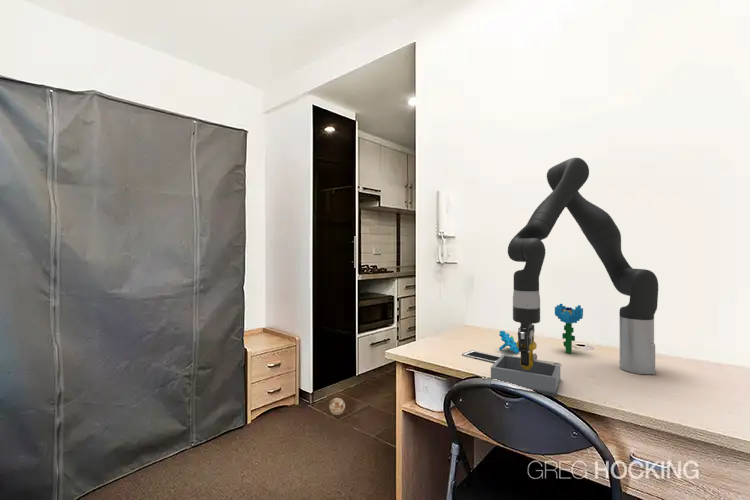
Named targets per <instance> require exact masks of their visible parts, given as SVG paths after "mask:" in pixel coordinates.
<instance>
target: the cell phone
mask: <svg viewBox="0 0 750 500" xmlns="http://www.w3.org/2000/svg"><path fill="white" fill-rule="evenodd" d="M461 355H462V356H463V357H465V358H466V357H467V358H471V359H475V360H479V361H482V362H487V363H491V364H494V363H495V362H496V361H497V360H498V359H499V358H500V356H501V355H500V356H499V355H495V354H491V353H487V352H482V351H477V350H469V351H467V352H463V353H462V354H461Z"/></svg>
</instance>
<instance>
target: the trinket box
mask: <svg viewBox="0 0 750 500" xmlns="http://www.w3.org/2000/svg"><path fill="white" fill-rule="evenodd" d="M328 407H329V410H330V413H331V414H332V415H336V416H337V415H341V414H342V413H344V411H345V409H346V403H345V401H344V400H343V399H342V398H340V397H335V398H333V399H332V400H330V401H329V405H328Z"/></svg>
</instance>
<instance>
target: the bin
mask: <svg viewBox="0 0 750 500" xmlns="http://www.w3.org/2000/svg"><path fill="white" fill-rule="evenodd" d="M520 358H521V356H515V355H508V354H507V355H506V354H501V355H500V358H499V359H498V360H497V361H496V362H495V363H492V364H493V365H492V366H490V380H491V379H497V380H500V381H504V382H509V383H512V384H516V385H518V386H522V387H526V388H530V389H533V390H535V391H537V392H539V393H542V394H541V395H544V396H550V397H555V398H556V397H557V394H558V390H559V386H560V382H561V366H553V365H550V364H545V363H540V362H534V361H533V367H531V368H530V370H525V369H523V367H522V366H521V364H520ZM541 360H542V359H541ZM542 361H544V359H543V360H542ZM547 361H548V360H547ZM548 362H551V361H548ZM555 365H559V364H555Z"/></svg>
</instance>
